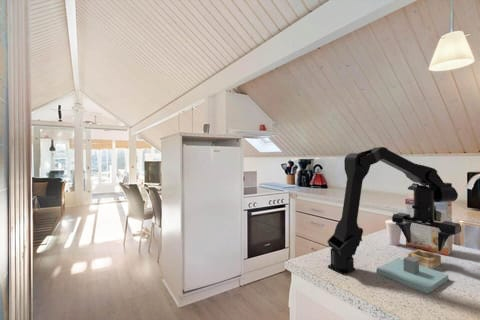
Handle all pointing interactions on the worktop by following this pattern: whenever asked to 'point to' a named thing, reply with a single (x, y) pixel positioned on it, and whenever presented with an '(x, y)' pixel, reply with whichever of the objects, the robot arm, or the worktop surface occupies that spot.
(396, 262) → the post board
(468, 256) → the worktop surface
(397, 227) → the smoothie
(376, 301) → the worktop surface
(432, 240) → the cracker box
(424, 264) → the square frame
